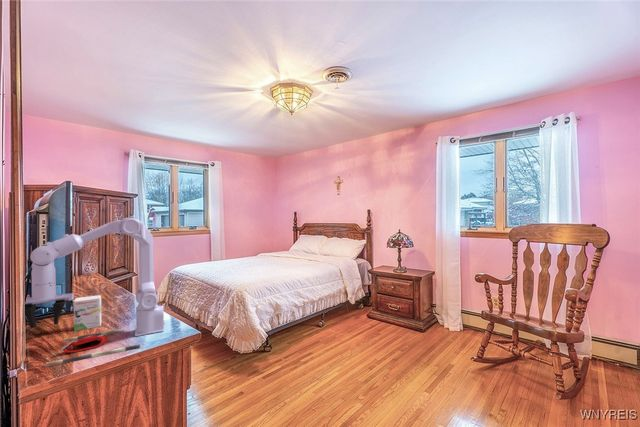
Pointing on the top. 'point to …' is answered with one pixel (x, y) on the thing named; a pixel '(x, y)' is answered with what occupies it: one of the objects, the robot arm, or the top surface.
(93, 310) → the ink box
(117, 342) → the top surface
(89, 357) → the track
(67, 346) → the tracker holder
